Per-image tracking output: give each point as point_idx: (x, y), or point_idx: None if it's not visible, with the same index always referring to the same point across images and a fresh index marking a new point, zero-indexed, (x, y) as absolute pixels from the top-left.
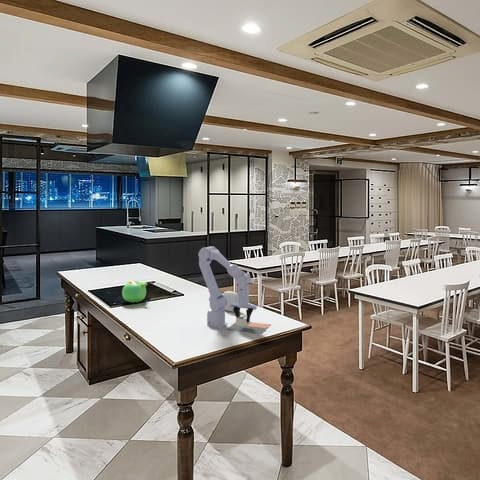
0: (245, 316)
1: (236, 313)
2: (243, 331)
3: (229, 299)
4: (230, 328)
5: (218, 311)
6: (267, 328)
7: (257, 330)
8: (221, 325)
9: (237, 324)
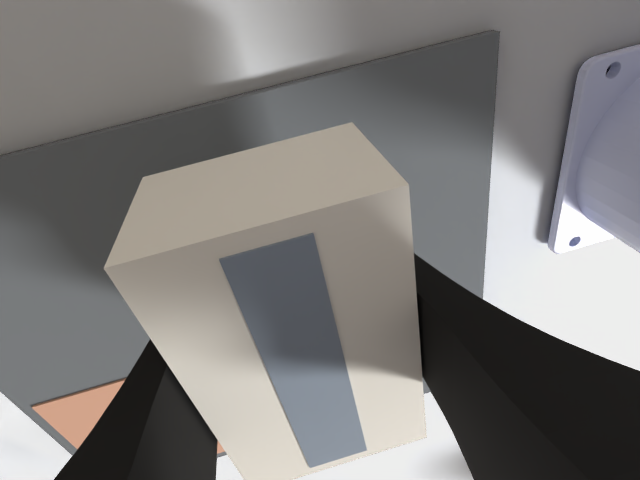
0: (292, 426)
1: (513, 361)
2: (177, 122)
3: None
4: (449, 117)
5: None
6: (24, 412)
7: (46, 294)
8: (620, 110)
9: (321, 137)
